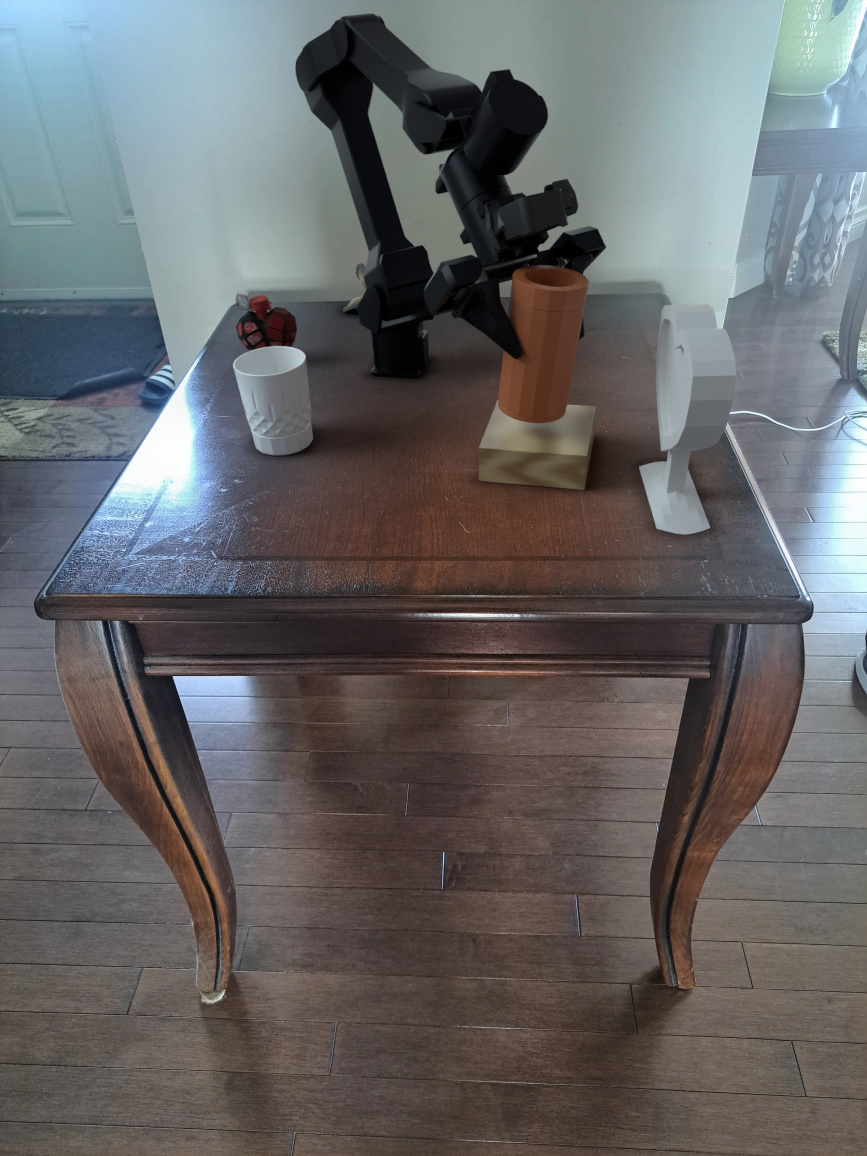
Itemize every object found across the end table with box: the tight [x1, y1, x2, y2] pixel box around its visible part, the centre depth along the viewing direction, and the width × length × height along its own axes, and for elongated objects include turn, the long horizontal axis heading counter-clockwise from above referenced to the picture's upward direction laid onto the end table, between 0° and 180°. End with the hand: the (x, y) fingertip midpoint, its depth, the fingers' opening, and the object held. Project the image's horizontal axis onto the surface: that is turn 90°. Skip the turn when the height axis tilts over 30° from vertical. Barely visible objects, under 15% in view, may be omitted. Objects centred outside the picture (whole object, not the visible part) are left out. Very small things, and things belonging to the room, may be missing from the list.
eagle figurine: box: [342, 262, 366, 312], centre depth 127 cm, size 8×7×9 cm
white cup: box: [232, 346, 314, 456], centre depth 93 cm, size 8×8×10 cm
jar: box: [497, 265, 590, 423], centre depth 82 cm, size 7×7×14 cm
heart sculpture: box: [638, 303, 737, 536], centre depth 78 cm, size 16×5×18 cm, turn 177°
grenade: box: [235, 289, 298, 352], centre depth 111 cm, size 5×8×10 cm, turn 99°
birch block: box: [478, 399, 597, 491], centre depth 89 cm, size 11×11×4 cm
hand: (550, 347), depth 81 cm, fingers closed on jar, 7 cm apart
